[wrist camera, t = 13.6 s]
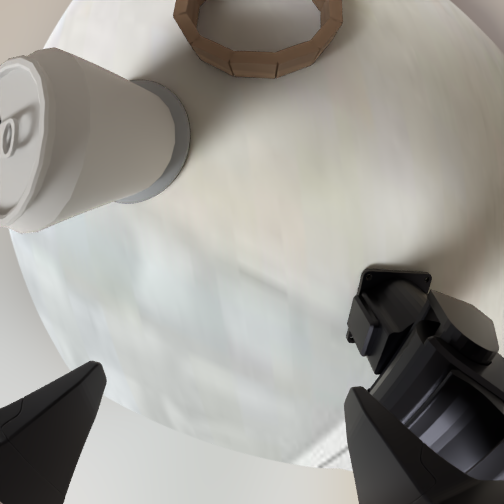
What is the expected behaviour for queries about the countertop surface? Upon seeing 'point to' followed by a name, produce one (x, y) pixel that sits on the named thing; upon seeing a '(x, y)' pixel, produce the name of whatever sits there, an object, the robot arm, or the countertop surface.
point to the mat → (179, 148)
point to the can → (74, 138)
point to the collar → (254, 61)
